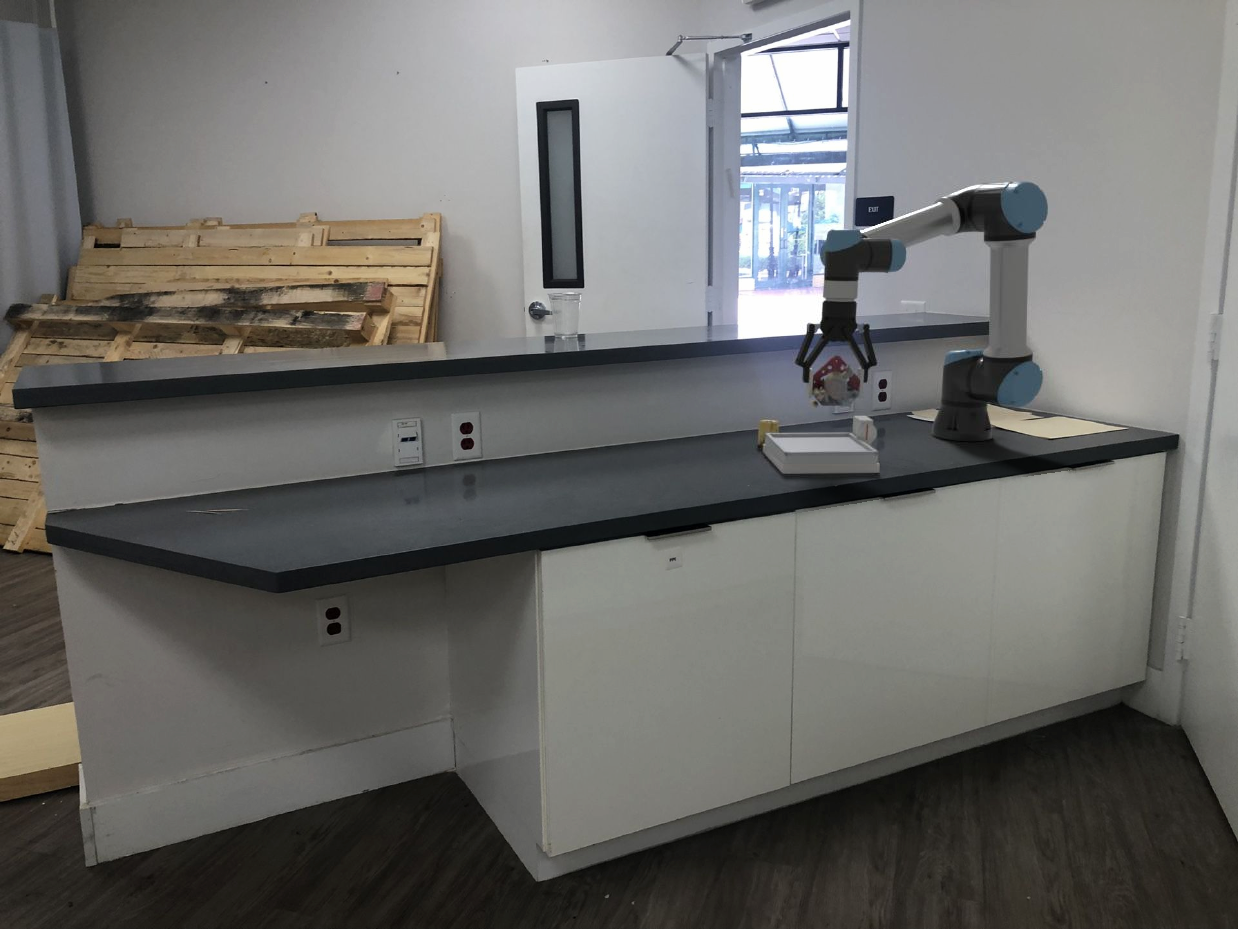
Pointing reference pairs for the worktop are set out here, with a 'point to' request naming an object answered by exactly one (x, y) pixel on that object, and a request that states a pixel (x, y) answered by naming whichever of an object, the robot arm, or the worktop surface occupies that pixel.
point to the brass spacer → (766, 429)
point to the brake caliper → (835, 384)
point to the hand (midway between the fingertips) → (833, 397)
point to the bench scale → (825, 450)
